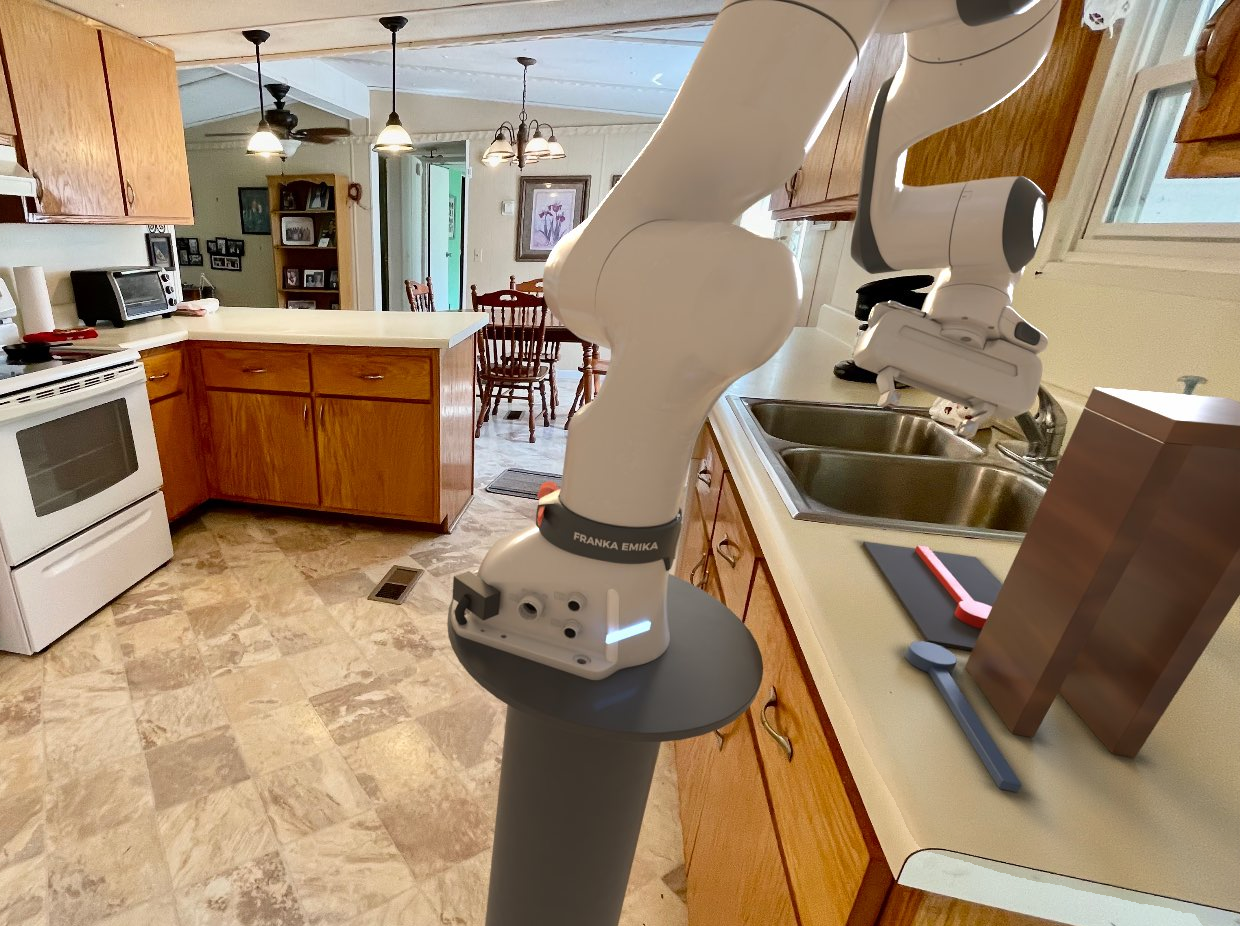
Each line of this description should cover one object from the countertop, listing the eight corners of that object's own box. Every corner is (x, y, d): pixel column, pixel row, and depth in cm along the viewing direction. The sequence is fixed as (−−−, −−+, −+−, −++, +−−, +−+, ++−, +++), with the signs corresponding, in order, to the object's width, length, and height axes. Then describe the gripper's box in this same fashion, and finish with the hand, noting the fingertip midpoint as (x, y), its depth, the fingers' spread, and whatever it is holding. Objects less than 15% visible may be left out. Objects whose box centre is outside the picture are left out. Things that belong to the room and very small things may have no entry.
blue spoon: (1038, 797, 47) (1045, 785, 46) (978, 784, 48) (985, 772, 47) (943, 655, 62) (948, 645, 61) (899, 647, 63) (903, 637, 62)
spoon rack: (1011, 733, 53) (1176, 420, 42) (964, 666, 60) (1093, 387, 49) (1135, 758, 50) (1343, 434, 39) (1070, 685, 58) (1228, 398, 47)
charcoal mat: (927, 643, 64) (928, 640, 63) (862, 544, 83) (863, 541, 82) (1078, 669, 60) (1080, 666, 60) (974, 559, 79) (976, 556, 79)
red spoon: (903, 549, 81) (906, 540, 80) (937, 553, 80) (940, 545, 79) (963, 626, 66) (967, 616, 65) (1005, 633, 65) (1010, 622, 64)
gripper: (892, 283, 81) (856, 380, 80) (1063, 343, 79) (1029, 446, 77) (862, 307, 88) (827, 398, 86) (1019, 364, 85) (987, 459, 83)
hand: (924, 421), depth 81 cm, fingers open, 8 cm apart
